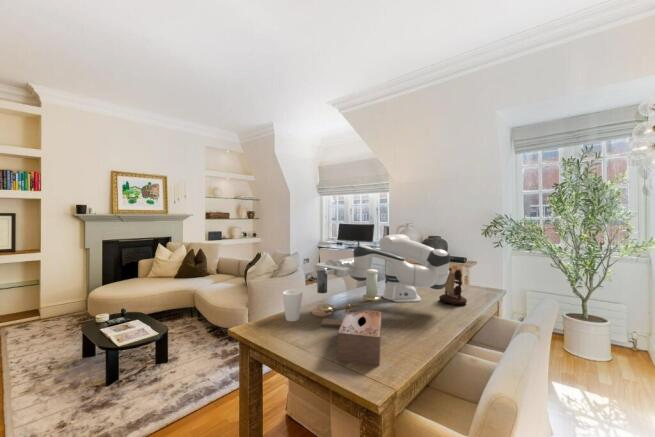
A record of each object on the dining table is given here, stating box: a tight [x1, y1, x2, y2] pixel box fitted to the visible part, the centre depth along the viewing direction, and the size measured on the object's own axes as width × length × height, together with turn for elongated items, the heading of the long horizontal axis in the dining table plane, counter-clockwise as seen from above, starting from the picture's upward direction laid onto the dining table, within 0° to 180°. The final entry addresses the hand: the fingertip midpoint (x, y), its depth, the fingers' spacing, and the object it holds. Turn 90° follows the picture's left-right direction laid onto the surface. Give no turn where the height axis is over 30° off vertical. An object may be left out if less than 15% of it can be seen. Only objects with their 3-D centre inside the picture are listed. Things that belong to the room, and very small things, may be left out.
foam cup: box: [282, 289, 303, 322], centre depth 138 cm, size 10×9×13 cm
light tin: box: [365, 268, 379, 298], centre depth 130 cm, size 5×5×12 cm
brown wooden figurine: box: [438, 267, 468, 307], centre depth 167 cm, size 15×15×20 cm
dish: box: [311, 307, 332, 318], centre depth 146 cm, size 10×10×1 cm
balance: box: [316, 294, 381, 328], centre depth 131 cm, size 29×8×14 cm, turn 84°
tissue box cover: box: [337, 308, 383, 366], centre depth 110 cm, size 26×14×10 cm, turn 168°
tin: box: [316, 267, 328, 294], centre depth 141 cm, size 5×5×12 cm
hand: (321, 271), depth 140 cm, fingers closed on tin, 5 cm apart
